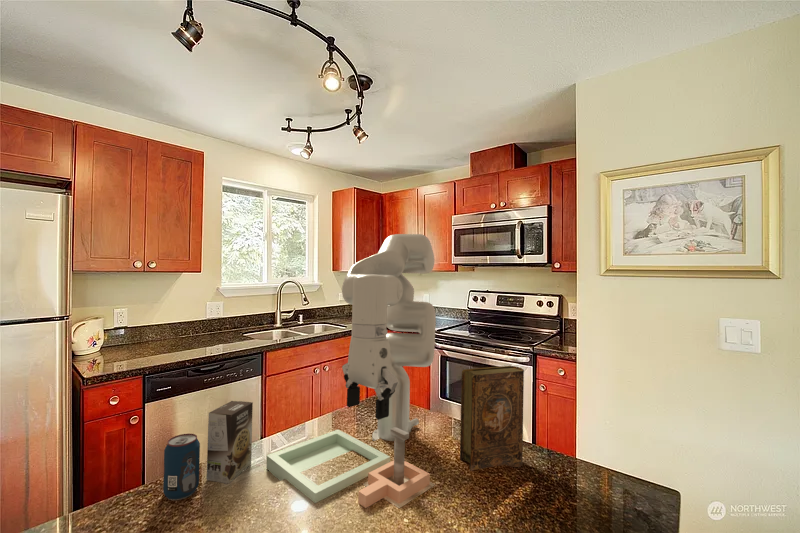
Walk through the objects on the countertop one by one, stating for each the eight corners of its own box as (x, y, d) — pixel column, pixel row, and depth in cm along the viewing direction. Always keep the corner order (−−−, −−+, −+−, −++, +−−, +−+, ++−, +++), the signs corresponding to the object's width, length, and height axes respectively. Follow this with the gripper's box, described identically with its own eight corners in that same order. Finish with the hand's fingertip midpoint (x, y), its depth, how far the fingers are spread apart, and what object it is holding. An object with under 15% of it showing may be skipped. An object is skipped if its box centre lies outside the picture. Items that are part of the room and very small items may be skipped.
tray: (337, 441, 109) (338, 429, 109) (389, 470, 93) (390, 456, 93) (266, 469, 93) (266, 455, 93) (314, 510, 78) (315, 493, 78)
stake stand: (398, 470, 93) (399, 416, 94) (435, 491, 85) (436, 431, 85) (361, 490, 85) (362, 430, 85) (399, 515, 77) (400, 449, 77)
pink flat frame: (398, 467, 92) (398, 457, 92) (429, 484, 85) (429, 473, 85) (347, 495, 81) (347, 483, 81) (378, 517, 74) (378, 504, 74)
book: (512, 456, 102) (514, 365, 102) (525, 466, 97) (527, 370, 97) (459, 465, 97) (461, 369, 97) (470, 476, 91) (471, 375, 92)
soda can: (176, 483, 87) (177, 431, 87) (205, 484, 86) (206, 432, 86) (155, 501, 80) (156, 445, 80) (187, 502, 79) (188, 446, 79)
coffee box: (229, 484, 86) (231, 415, 87) (205, 480, 88) (206, 412, 88) (252, 464, 95) (253, 401, 95) (230, 461, 97) (231, 399, 97)
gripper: (409, 334, 77) (408, 418, 76) (358, 326, 89) (356, 398, 88) (383, 338, 71) (380, 428, 71) (331, 328, 84) (329, 405, 83)
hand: (367, 411), depth 80 cm, fingers open, 9 cm apart
